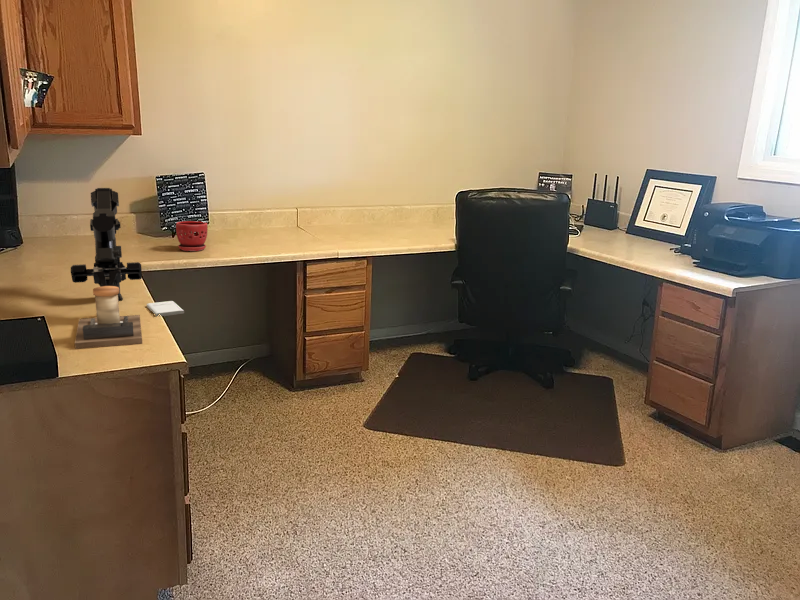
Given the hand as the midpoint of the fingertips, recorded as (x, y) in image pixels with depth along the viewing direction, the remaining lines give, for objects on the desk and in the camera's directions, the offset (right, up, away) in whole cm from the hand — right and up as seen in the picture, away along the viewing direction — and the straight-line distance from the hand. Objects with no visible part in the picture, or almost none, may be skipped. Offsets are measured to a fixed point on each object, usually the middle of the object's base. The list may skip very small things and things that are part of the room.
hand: (108, 297), depth 195 cm
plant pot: (-8, +21, +106) cm, 108 cm away
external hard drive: (+11, -4, +16) cm, 20 cm away
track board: (+4, -10, -8) cm, 13 cm away
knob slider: (+5, -9, -10) cm, 14 cm away
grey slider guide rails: (+4, -8, -9) cm, 13 cm away
